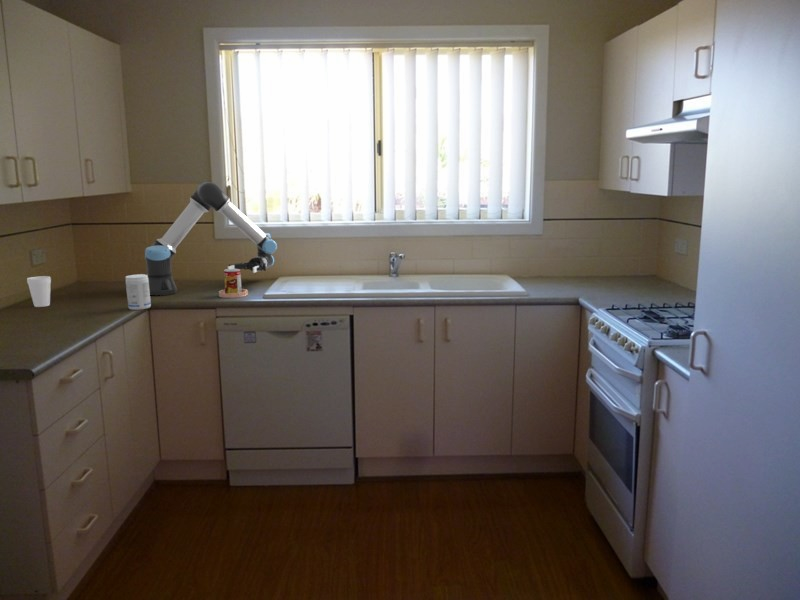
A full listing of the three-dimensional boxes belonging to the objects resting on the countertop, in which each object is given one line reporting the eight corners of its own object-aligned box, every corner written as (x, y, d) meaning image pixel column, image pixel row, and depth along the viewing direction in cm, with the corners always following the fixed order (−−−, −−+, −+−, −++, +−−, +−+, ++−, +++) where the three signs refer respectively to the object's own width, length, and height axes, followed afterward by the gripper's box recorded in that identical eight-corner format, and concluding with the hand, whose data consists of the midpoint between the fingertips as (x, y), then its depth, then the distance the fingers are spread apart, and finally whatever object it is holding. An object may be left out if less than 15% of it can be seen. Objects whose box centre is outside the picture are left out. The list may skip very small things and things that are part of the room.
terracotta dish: (213, 297, 317) (213, 293, 317) (226, 292, 330) (226, 288, 330) (240, 298, 314) (240, 294, 314) (252, 292, 328) (252, 288, 327)
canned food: (226, 292, 326) (225, 268, 323) (242, 292, 327) (241, 268, 324) (224, 295, 318) (222, 271, 316) (240, 295, 319) (239, 271, 316)
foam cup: (28, 305, 303) (25, 277, 300) (50, 302, 309) (47, 275, 306) (33, 308, 296) (29, 280, 293) (55, 305, 301) (52, 277, 299)
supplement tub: (147, 305, 301) (144, 273, 298) (154, 308, 293) (151, 275, 291) (125, 307, 295) (122, 275, 292) (132, 311, 287) (128, 278, 285)
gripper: (279, 271, 349) (264, 277, 329) (236, 270, 354) (218, 276, 333) (279, 257, 348) (263, 263, 327) (235, 256, 352) (217, 261, 332)
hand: (240, 269), depth 330 cm, fingers open, 13 cm apart
